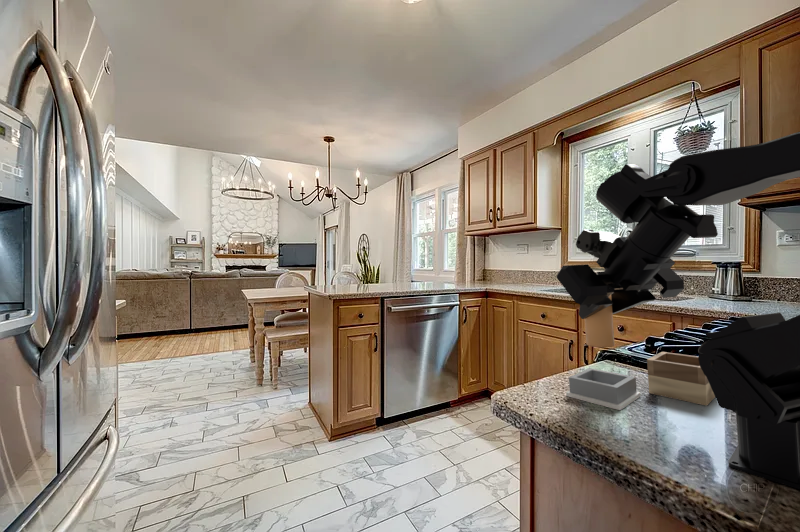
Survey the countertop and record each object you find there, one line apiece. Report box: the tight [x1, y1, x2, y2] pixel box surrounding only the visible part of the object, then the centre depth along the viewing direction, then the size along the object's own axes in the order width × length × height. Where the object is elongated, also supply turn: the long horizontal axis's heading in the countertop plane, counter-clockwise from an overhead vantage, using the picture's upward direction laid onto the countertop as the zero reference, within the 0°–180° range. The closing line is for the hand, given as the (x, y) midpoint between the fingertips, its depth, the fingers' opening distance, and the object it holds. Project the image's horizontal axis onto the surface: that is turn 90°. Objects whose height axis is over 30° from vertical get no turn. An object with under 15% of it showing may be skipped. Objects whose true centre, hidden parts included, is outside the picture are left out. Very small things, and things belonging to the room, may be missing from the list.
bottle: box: [584, 295, 615, 348], centre depth 56 cm, size 4×4×10 cm
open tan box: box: [646, 351, 716, 406], centre depth 55 cm, size 7×7×6 cm
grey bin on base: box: [565, 367, 642, 411], centre depth 56 cm, size 8×8×3 cm
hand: (591, 315), depth 57 cm, fingers closed on bottle, 4 cm apart
